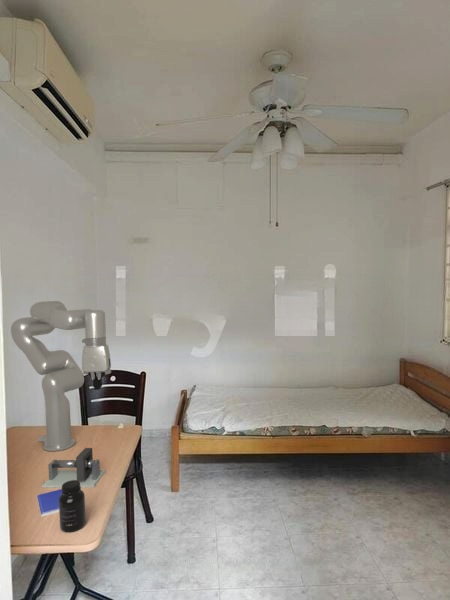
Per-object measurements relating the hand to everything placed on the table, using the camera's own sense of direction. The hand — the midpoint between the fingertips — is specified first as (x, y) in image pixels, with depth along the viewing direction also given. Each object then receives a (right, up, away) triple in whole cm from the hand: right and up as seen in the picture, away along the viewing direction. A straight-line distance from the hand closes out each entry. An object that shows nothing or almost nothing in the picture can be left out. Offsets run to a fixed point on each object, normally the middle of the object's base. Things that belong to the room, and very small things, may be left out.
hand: (97, 388), depth 157 cm
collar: (+1, -26, -17) cm, 31 cm away
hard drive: (-4, -29, -32) cm, 43 cm away
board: (-3, -28, -17) cm, 33 cm away
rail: (-3, -28, -17) cm, 33 cm away
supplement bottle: (+7, -29, -44) cm, 53 cm away
